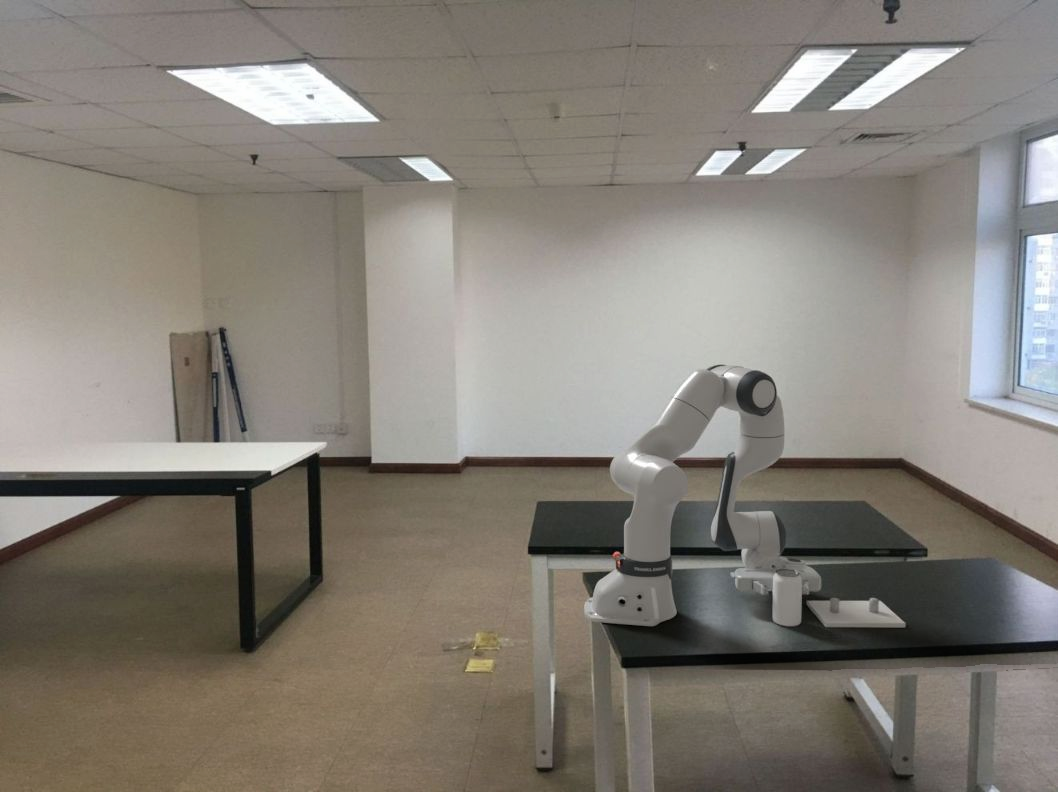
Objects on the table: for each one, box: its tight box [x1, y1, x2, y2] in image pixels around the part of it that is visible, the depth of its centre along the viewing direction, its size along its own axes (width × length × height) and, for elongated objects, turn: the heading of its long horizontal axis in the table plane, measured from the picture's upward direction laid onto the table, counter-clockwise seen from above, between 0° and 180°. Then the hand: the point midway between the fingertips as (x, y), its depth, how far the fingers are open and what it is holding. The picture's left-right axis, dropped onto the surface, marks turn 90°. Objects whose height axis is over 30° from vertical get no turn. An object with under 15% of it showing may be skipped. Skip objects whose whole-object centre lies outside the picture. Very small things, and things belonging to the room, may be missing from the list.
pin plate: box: [806, 597, 906, 628], centre depth 182 cm, size 18×14×4 cm
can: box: [771, 569, 803, 628], centre depth 179 cm, size 6×6×12 cm
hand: (785, 591), depth 179 cm, fingers open, 8 cm apart
